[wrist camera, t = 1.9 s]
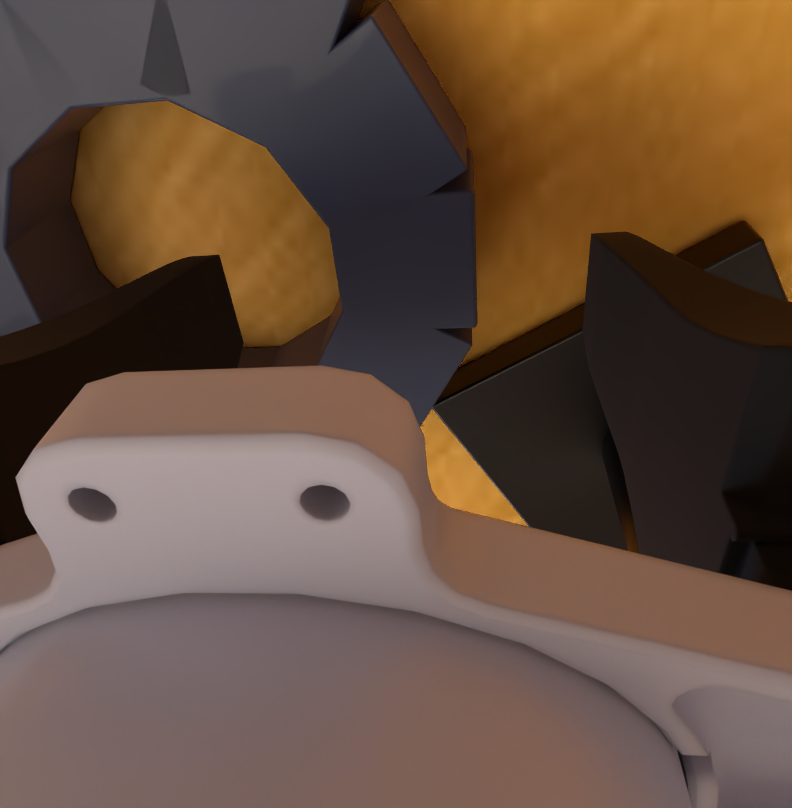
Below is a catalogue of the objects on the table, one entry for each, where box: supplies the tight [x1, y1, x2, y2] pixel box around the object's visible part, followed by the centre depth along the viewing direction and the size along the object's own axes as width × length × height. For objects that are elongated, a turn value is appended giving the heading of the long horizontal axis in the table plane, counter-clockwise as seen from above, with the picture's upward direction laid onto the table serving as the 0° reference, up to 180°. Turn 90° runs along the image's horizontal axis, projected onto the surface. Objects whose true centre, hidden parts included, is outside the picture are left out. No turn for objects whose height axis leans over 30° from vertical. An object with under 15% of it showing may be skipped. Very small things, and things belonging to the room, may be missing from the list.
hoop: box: [0, 0, 477, 426], centre depth 15 cm, size 13×13×3 cm
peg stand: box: [432, 221, 788, 554], centre depth 17 cm, size 9×9×6 cm
